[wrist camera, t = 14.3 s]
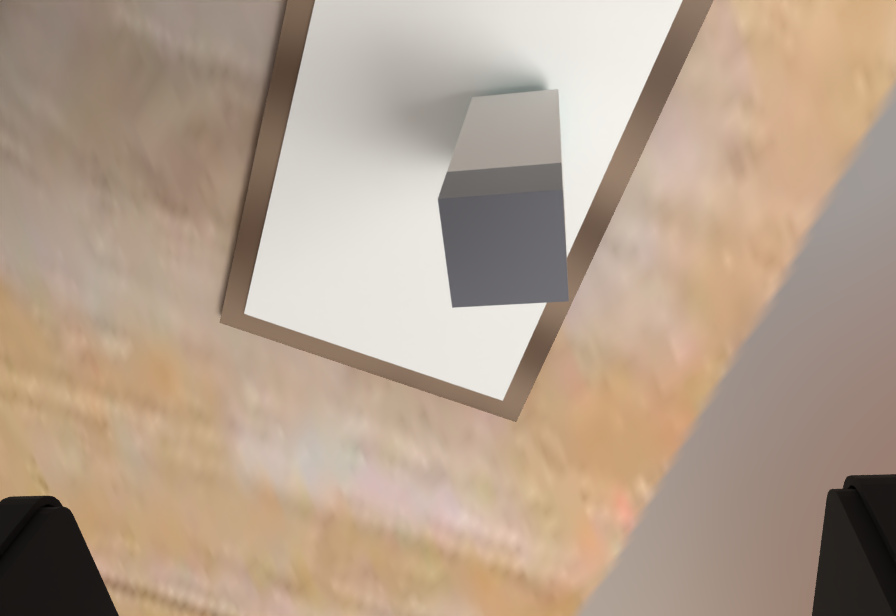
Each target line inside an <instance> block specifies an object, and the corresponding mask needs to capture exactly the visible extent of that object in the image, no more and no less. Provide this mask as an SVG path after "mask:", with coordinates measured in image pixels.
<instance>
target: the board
mask: <svg viewBox="0 0 896 616" xmlns="http://www.w3.org/2000/svg"><path fill="white" fill-rule="evenodd" d="M712 2H713V0H683V1H682V3H681V5H680V7H679V10H678V12H677V14H676V16H675V18H674V21H673V23H672V25H671V27H670V30H669V32H668V34H667V36H666V38H665V41H664V43H663V45H662V47H661V50H660V52H659V54H658V56H657V59H656V61H655V63H654V65H653V67H652V70H651V72H650V74H649V76H648V79H647V81H646V83H645V85H644V87H643V90H642V92H641V94H640V96H639V99H638V101H637V103H636V105H635V107H634V110H633V112H632V114H631V116H630V119H629V121H628V123H627V125H626V127H625V130H624V132H623V134H622V136H621V139H620V141H619V143H618V145H617V148H616V150H615V152H614V154H613V156H612V159H611V161H610V163H609V165H608V168H607V170H606V172H605V174H604V176H603V179H602V181H601V183H600V185H599V188H598V190H597V192H596V194H595V196H594V199H593V201H592V203H591V205H590V208H589V210H588V212H587V214H586V217H585V219H584V221H583V223H582V225H581V228H580V230H579V232H578V234H577V237H576V239H575V241H574V243H573V245H572V248H571V250H570V252H569V254H568V257H567V272H568V293H569V301H567V302H548V303H546V306H545V308H544V310H543V312H542V314H541V317H540V319H539V321H538V323H537V326H536V328H535V330H534V332H533V334H532V337H531V339H530V341H529V343H528V346H527V348H526V350H525V352H524V354H523V357H522V359H521V361H520V363H519V366H518V368H517V370H516V372H515V374H514V377H513V379H512V381H511V383H510V386H509V388H508V390H507V392H506V395H505V397H504V399H503V401H502V400H499V399H496V398H493V397H490V396H487V395H484V394H481V393H478V392H475V391H472V390H469V389H466V388H463V387H460V386H457V385H454V384H451V383H448V382H445V381H442V380H440V379H437V378H434V377H431V376H428V375H425V374H422V373H419V372H416V371H413V370H410V369H407V368H404V367H401V366H398V365H395V364H392V363H389V362H386V361H383V360H380V359H377V358H374V357H371V356H368V355H365V354H362V353H359V352H356V351H353V350H350V349H347V348H344V347H341V346H338V345H335V344H332V343H330V342H327V341H324V340H321V339H318V338H315V337H312V336H309V335H306V334H303V333H300V332H297V331H294V330H291V329H288V328H285V327H282V326H279V325H276V324H273V323H270V322H267V321H264V320H261V319H258V318H255V317H252V316H249V315H246V314H244V311H245V307H246V303H247V298H248V294H249V289H250V285H251V281H252V276H253V272H254V267H255V263H256V259H257V254H258V250H259V245H260V241H261V237H262V232H263V228H264V223H265V219H266V215H267V210H268V206H269V201H270V197H271V193H272V188H273V184H274V179H275V175H276V170H277V166H278V162H279V157H280V153H281V148H282V144H283V140H284V135H285V131H286V126H287V122H288V118H289V113H290V109H291V104H292V100H293V96H294V91H295V87H296V82H297V78H298V74H299V69H300V65H301V60H302V56H303V52H304V47H305V43H306V38H307V34H308V30H309V25H310V21H311V16H312V12H313V8H314V3H315V0H287V5H286V10H285V15H284V19H283V24H282V29H281V34H280V38H279V43H278V48H277V53H276V57H275V62H274V67H273V72H272V76H271V81H270V86H269V91H268V95H267V100H266V105H265V110H264V114H263V119H262V124H261V129H260V133H259V138H258V143H257V148H256V152H255V157H254V162H253V167H252V171H251V176H250V181H249V186H248V190H247V195H246V200H245V205H244V209H243V214H242V219H241V224H240V229H239V233H238V238H237V243H236V248H235V252H234V257H233V262H232V267H231V271H230V276H229V281H228V286H227V290H226V295H225V300H224V305H223V309H222V314H221V319H220V323H222V324H225V325H228V326H231V327H234V328H237V329H240V330H243V331H246V332H249V333H252V334H255V335H258V336H261V337H264V338H267V339H270V340H273V341H276V342H279V343H282V344H285V345H288V346H291V347H294V348H297V349H300V350H303V351H306V352H309V353H312V354H315V355H318V356H321V357H324V358H327V359H330V360H333V361H336V362H339V363H342V364H345V365H348V366H351V367H354V368H357V369H360V370H363V371H366V372H369V373H372V374H375V375H377V376H380V377H383V378H386V379H389V380H392V381H395V382H398V383H401V384H404V385H407V386H410V387H413V388H416V389H419V390H422V391H425V392H428V393H431V394H434V395H437V396H440V397H443V398H446V399H449V400H452V401H455V402H458V403H461V404H464V405H467V406H470V407H473V408H476V409H479V410H482V411H485V412H488V413H491V414H494V415H497V416H500V417H503V418H506V419H509V420H512V421H515V422H516V421H517V419H518V417H519V415H520V413H521V410H522V408H523V406H524V404H525V402H526V400H527V398H528V395H529V393H530V391H531V389H532V387H533V385H534V383H535V381H536V378H537V376H538V374H539V372H540V370H541V368H542V366H543V363H544V361H545V359H546V357H547V355H548V353H549V351H550V348H551V346H552V344H553V342H554V340H555V338H556V336H557V334H558V331H559V329H560V327H561V325H562V323H563V321H564V319H565V316H566V314H567V312H568V310H569V308H570V306H571V304H572V301H573V299H574V297H575V295H576V293H577V291H578V289H579V287H580V284H581V282H582V280H583V278H584V276H585V274H586V272H587V269H588V267H589V265H590V263H591V261H592V259H593V257H594V254H595V252H596V250H597V248H598V246H599V244H600V242H601V240H602V237H603V235H604V233H605V231H606V229H607V227H608V225H609V222H610V220H611V218H612V216H613V214H614V212H615V210H616V207H617V205H618V203H619V201H620V199H621V197H622V195H623V193H624V190H625V188H626V186H627V184H628V182H629V180H630V178H631V175H632V173H633V171H634V169H635V167H636V165H637V163H638V160H639V158H640V156H641V154H642V152H643V150H644V148H645V146H646V143H647V141H648V139H649V137H650V135H651V133H652V131H653V128H654V126H655V124H656V122H657V120H658V118H659V116H660V113H661V111H662V109H663V107H664V105H665V103H666V101H667V98H668V96H669V94H670V92H671V90H672V88H673V86H674V84H675V81H676V79H677V77H678V75H679V73H680V71H681V69H682V66H683V64H684V62H685V60H686V58H687V56H688V54H689V51H690V49H691V47H692V45H693V43H694V41H695V39H696V37H697V34H698V32H699V30H700V28H701V26H702V24H703V22H704V19H705V17H706V15H707V13H708V11H709V9H710V7H711V4H712Z"/></svg>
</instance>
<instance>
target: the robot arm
mask: <svg viewBox="0 0 896 616" xmlns="http://www.w3.org/2000/svg"><path fill="white" fill-rule="evenodd" d="M0 616H119V615H118V613H117V611H116V609H115V606H114V604H113V602H112V600H111V598H110V595H109V593H108V591H107V589H106V587H105V584H104V582H103V580H102V578H101V575H100V573H99V571H98V569H97V567H96V564H95V562H94V560H93V558H92V556H91V553H90V551H89V549H88V547H87V545H86V542H85V540H84V538H83V536H82V533H81V531H80V529H79V527H78V525H77V522H76V520H75V518H74V516H73V514H72V512H71V511H70V510H69V509H68V508H66V507H63V506H62V504H61V503H60V501H59V500H58V499H56V498H55V497H53V496H20V497H8V498H5V499H3V500H2V501H1V502H0ZM812 616H896V474H891V475H851V476H848V477H847V478H846V480H845V482H844V486H843V489H831V490H830V491H829V492H828V495H827V501H826V509H825V517H824V524H823V533H822V540H821V548H820V556H819V564H818V573H817V580H816V588H815V596H814V605H813V612H812Z"/></svg>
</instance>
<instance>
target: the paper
mask: <svg viewBox="0 0 896 616" xmlns="http://www.w3.org/2000/svg"><path fill="white" fill-rule="evenodd" d="M682 1H683V0H315V3H314V8H313V12H312V16H311V21H310V25H309V30H308V34H307V38H306V43H305V47H304V52H303V56H302V60H301V65H300V69H299V74H298V78H297V82H296V87H295V91H294V96H293V100H292V104H291V109H290V113H289V118H288V122H287V126H286V131H285V135H284V140H283V144H282V148H281V153H280V157H279V162H278V166H277V170H276V175H275V179H274V184H273V188H272V193H271V197H270V201H269V206H268V210H267V215H266V219H265V223H264V228H263V232H262V237H261V241H260V245H259V250H258V254H257V259H256V263H255V267H254V272H253V276H252V281H251V285H250V289H249V294H248V298H247V303H246V307H245V311H244V314H246V315H249V316H252V317H255V318H258V319H261V320H264V321H267V322H270V323H273V324H276V325H279V326H282V327H285V328H288V329H291V330H294V331H297V332H300V333H303V334H306V335H309V336H312V337H315V338H318V339H321V340H324V341H327V342H330V343H332V344H335V345H338V346H341V347H344V348H347V349H350V350H353V351H356V352H359V353H362V354H365V355H368V356H371V357H374V358H377V359H380V360H383V361H386V362H389V363H392V364H395V365H398V366H401V367H404V368H407V369H410V370H413V371H416V372H419V373H422V374H425V375H428V376H431V377H434V378H437V379H440V380H442V381H445V382H448V383H451V384H454V385H457V386H460V387H463V388H466V389H469V390H472V391H475V392H478V393H481V394H484V395H487V396H490V397H493V398H496V399H499V400H502V401H503V399H504V397H505V395H506V392H507V390H508V388H509V386H510V383H511V381H512V379H513V377H514V374H515V372H516V370H517V368H518V366H519V363H520V361H521V359H522V357H523V354H524V352H525V350H526V348H527V346H528V343H529V341H530V339H531V337H532V334H533V332H534V330H535V328H536V326H537V323H538V321H539V319H540V317H541V314H542V312H543V310H544V308H545V306H546V303H530V304H511V305H492V306H474V307H455V308H452V302H451V295H450V288H449V280H448V273H447V265H446V258H445V250H444V243H443V235H442V228H441V220H440V213H439V205H438V197H439V194H440V191H441V188H442V185H443V182H444V179H445V176H446V173H447V170H448V167H449V164H450V161H451V158H452V155H453V152H454V150H455V147H456V144H457V141H458V138H459V135H460V132H461V129H462V126H463V123H464V120H465V117H466V114H467V111H468V108H469V105H470V103H471V100H472V97H480V96H490V95H501V94H511V93H522V92H533V91H543V90H554V89H558V91H559V109H560V128H561V146H562V164H563V184H564V206H565V228H566V250H567V257H568V254H569V252H570V250H571V248H572V245H573V243H574V241H575V239H576V237H577V234H578V232H579V230H580V228H581V225H582V223H583V221H584V219H585V217H586V214H587V212H588V210H589V208H590V205H591V203H592V201H593V199H594V196H595V194H596V192H597V190H598V188H599V185H600V183H601V181H602V179H603V176H604V174H605V172H606V170H607V168H608V165H609V163H610V161H611V159H612V156H613V154H614V152H615V150H616V148H617V145H618V143H619V141H620V139H621V136H622V134H623V132H624V130H625V127H626V125H627V123H628V121H629V119H630V116H631V114H632V112H633V110H634V107H635V105H636V103H637V101H638V99H639V96H640V94H641V92H642V90H643V87H644V85H645V83H646V81H647V79H648V76H649V74H650V72H651V70H652V67H653V65H654V63H655V61H656V59H657V56H658V54H659V52H660V50H661V47H662V45H663V43H664V41H665V38H666V36H667V34H668V32H669V30H670V27H671V25H672V23H673V21H674V18H675V16H676V14H677V12H678V10H679V7H680V5H681V3H682Z"/></svg>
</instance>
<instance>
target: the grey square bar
mask: <svg viewBox="0 0 896 616" xmlns="http://www.w3.org/2000/svg"><path fill="white" fill-rule="evenodd" d="M438 205H439V213H440V220H441V228H442V235H443V243H444V250H445V258H446V265H447V273H448V280H449V288H450V295H451V302H452V308H455V307H474V306H492V305H511V304H530V303H548V302H567V301H569V293H568V272H567V250H566V228H565V206H564V184H563V164H562V146H561V128H560V109H559V91H558V89H554V90H543V91H533V92H522V93H511V94H501V95H490V96H480V97H472V100H471V103H470V105H469V108H468V111H467V114H466V117H465V120H464V123H463V126H462V129H461V132H460V135H459V138H458V141H457V144H456V147H455V150H454V152H453V155H452V158H451V161H450V164H449V167H448V170H447V173H446V176H445V179H444V182H443V185H442V188H441V191H440V194H439V197H438Z"/></svg>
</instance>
